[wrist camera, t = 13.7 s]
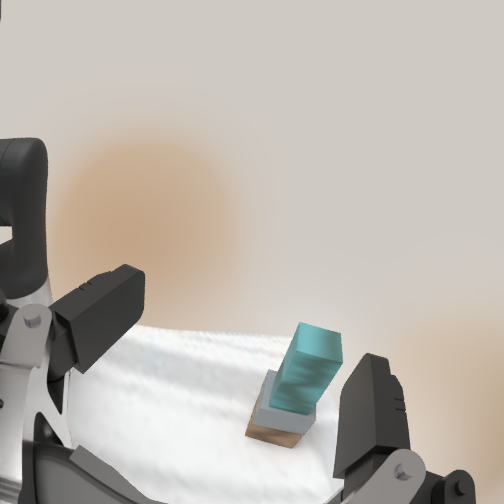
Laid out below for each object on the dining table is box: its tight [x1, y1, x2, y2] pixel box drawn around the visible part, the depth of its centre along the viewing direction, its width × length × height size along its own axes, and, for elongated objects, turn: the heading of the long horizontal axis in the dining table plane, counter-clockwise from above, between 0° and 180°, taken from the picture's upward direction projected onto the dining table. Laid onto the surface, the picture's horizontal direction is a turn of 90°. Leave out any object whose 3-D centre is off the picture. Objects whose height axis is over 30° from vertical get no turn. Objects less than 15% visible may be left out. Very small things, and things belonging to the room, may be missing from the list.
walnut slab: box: [245, 394, 302, 449], centre depth 34 cm, size 7×7×4 cm
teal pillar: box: [269, 322, 343, 416], centre depth 30 cm, size 5×5×10 cm
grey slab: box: [253, 370, 316, 435], centre depth 33 cm, size 7×7×4 cm
